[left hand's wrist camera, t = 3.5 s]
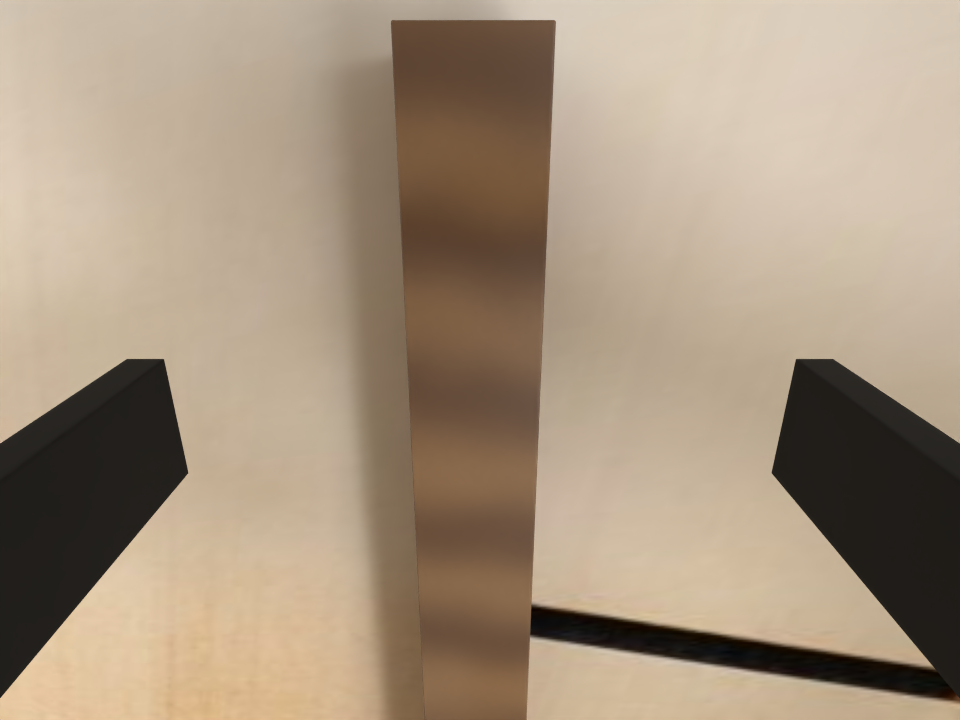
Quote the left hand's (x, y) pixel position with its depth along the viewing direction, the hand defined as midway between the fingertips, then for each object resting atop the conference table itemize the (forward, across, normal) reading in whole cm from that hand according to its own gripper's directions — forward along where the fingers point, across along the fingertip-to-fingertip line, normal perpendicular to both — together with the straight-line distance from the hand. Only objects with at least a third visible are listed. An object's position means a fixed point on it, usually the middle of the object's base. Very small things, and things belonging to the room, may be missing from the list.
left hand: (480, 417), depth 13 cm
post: (+16, 0, -33) cm, 37 cm away
